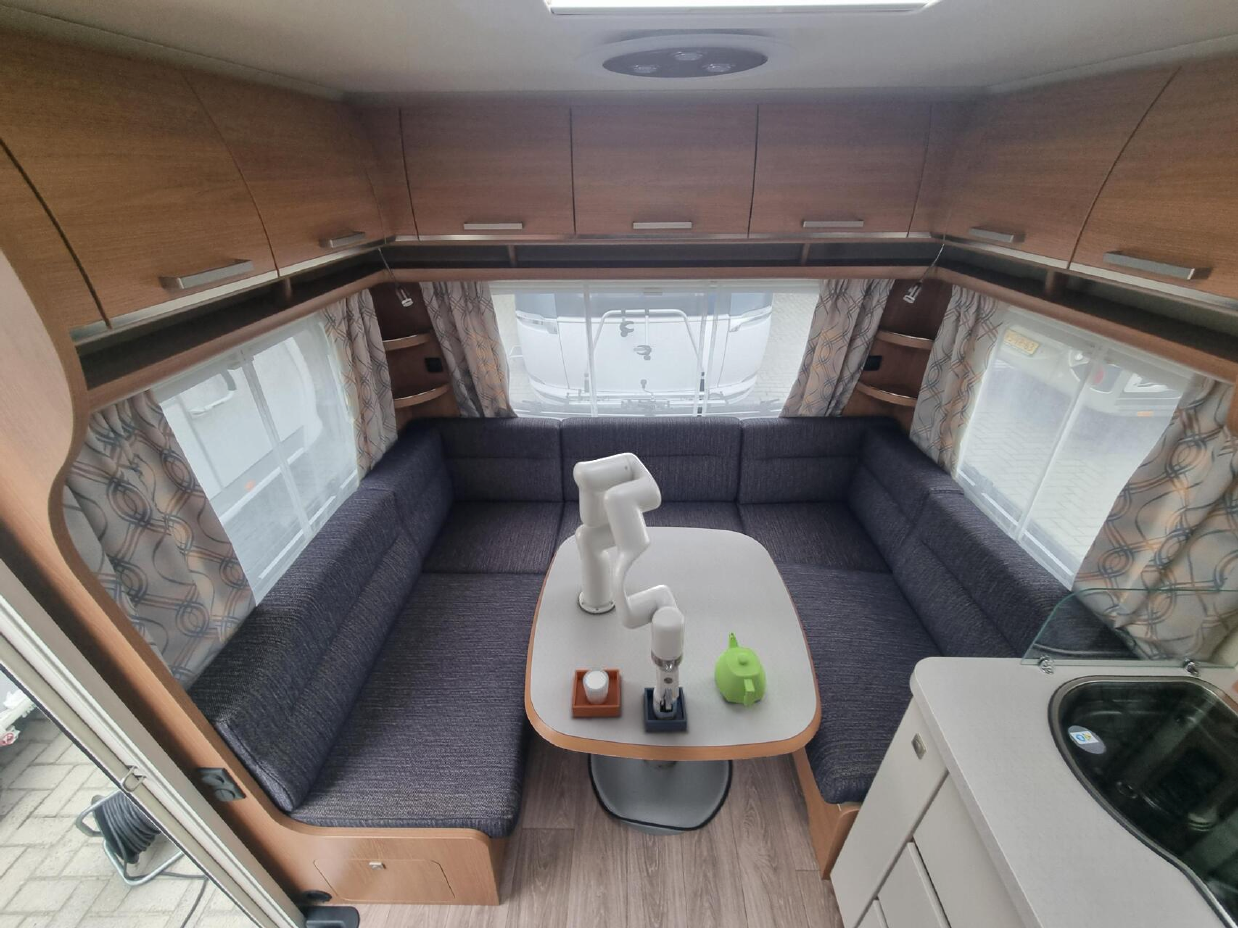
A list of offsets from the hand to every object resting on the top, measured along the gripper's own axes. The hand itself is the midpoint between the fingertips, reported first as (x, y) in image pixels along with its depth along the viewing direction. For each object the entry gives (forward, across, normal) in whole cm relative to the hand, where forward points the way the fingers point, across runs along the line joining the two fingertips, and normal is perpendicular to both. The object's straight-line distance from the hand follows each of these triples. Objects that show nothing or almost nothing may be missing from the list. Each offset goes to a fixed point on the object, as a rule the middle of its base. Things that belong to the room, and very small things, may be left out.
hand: (665, 697), depth 125 cm
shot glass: (+6, +5, +18) cm, 20 cm away
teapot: (+7, +7, -21) cm, 23 cm away
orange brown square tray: (+6, +5, +18) cm, 20 cm away
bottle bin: (+6, 0, 0) cm, 6 cm away
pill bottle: (+6, 0, 0) cm, 6 cm away
